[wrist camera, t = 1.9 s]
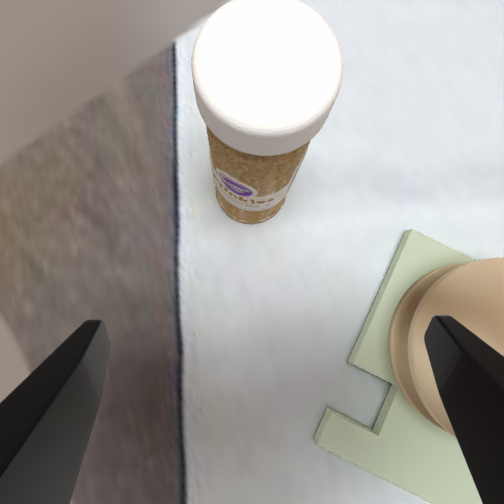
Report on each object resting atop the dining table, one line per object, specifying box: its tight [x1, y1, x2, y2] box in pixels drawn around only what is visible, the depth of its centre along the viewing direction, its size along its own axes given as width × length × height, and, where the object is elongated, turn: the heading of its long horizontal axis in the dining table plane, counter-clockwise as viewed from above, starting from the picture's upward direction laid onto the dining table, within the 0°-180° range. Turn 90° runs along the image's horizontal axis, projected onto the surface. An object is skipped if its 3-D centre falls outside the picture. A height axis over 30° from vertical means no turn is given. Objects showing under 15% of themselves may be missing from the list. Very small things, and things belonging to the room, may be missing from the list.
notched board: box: [314, 229, 483, 504], centre depth 23 cm, size 14×12×1 cm
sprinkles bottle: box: [191, 0, 343, 224], centre depth 17 cm, size 5×5×14 cm
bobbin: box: [388, 258, 504, 438], centre depth 21 cm, size 10×10×3 cm
